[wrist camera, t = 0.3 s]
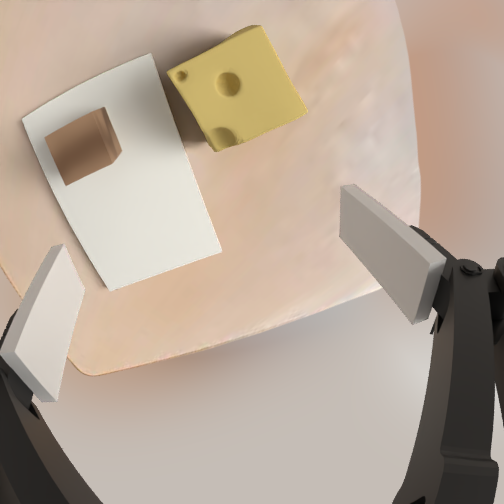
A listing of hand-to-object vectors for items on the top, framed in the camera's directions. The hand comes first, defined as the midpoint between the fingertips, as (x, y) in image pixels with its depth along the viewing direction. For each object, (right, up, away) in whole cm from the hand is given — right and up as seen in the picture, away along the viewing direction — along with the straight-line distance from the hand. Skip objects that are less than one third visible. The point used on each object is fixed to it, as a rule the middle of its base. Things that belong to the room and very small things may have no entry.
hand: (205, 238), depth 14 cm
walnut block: (-17, +13, +18) cm, 28 cm away
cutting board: (-14, +8, +23) cm, 28 cm away
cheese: (-1, +19, +20) cm, 28 cm away
